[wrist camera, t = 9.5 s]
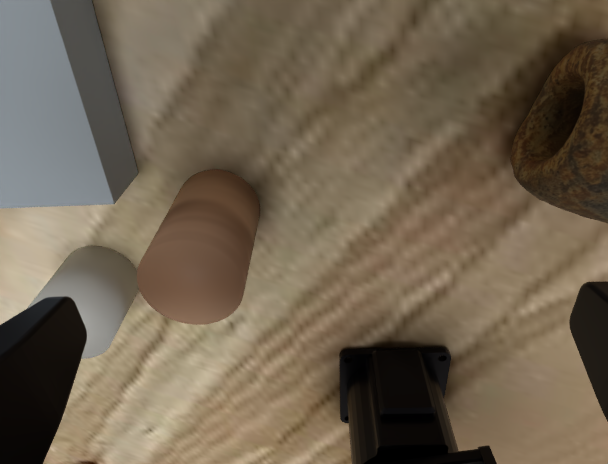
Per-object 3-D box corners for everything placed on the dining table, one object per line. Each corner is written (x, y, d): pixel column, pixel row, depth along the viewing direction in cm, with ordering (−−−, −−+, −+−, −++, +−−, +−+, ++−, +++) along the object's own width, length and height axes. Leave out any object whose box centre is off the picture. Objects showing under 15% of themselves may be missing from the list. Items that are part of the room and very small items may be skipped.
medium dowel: (264, 240, 23) (249, 323, 18) (186, 242, 23) (151, 325, 18) (255, 168, 21) (236, 238, 16) (170, 171, 21) (124, 242, 16)
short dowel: (147, 303, 25) (122, 357, 22) (78, 304, 26) (42, 359, 22) (129, 244, 23) (98, 294, 20) (54, 246, 23) (10, 297, 20)
